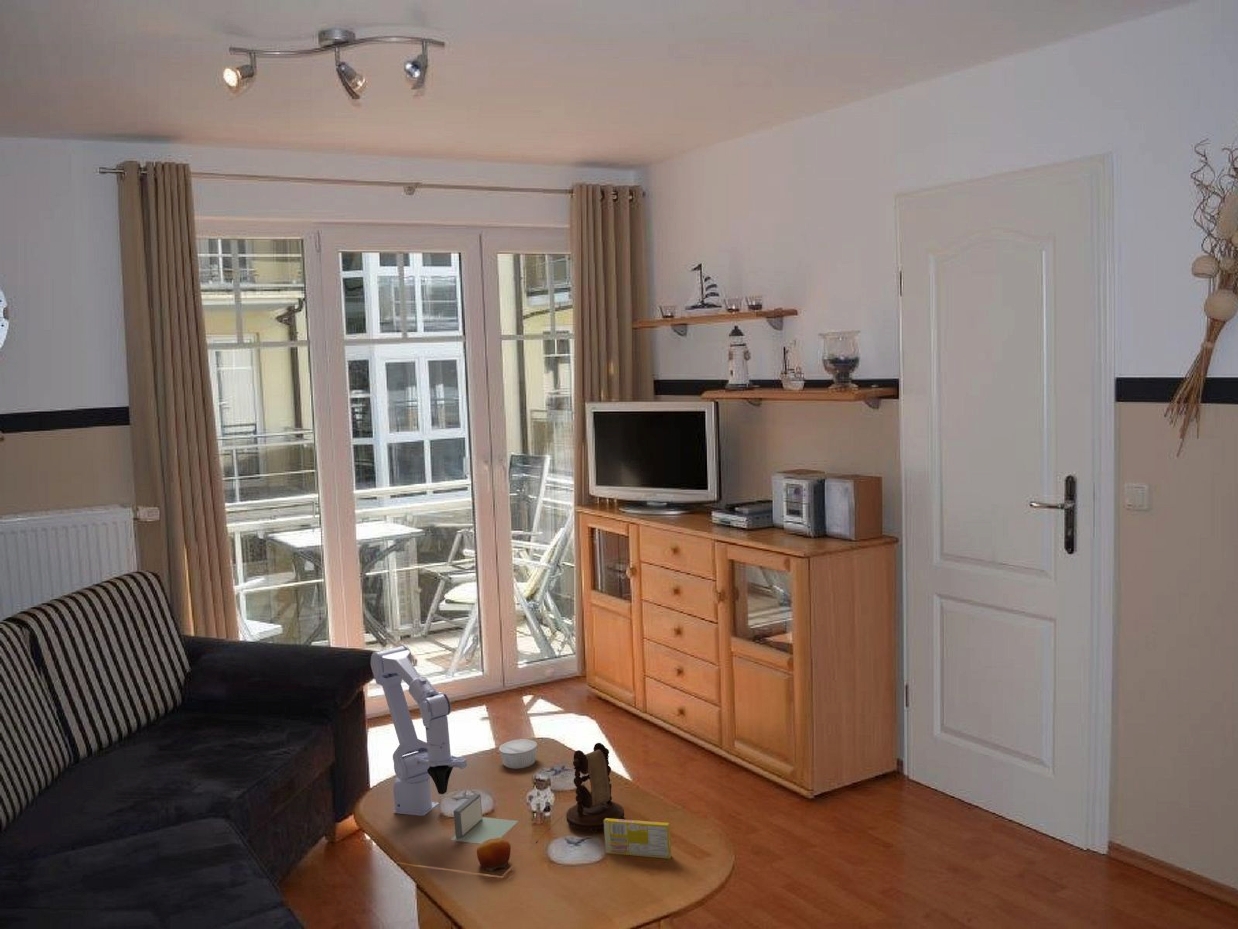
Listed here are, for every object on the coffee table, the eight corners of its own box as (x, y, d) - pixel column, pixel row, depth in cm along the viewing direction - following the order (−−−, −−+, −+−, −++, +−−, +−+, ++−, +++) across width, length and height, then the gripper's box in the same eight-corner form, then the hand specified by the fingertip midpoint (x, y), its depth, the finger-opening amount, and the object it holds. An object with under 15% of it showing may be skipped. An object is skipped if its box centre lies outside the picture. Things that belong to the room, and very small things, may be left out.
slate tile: (455, 837, 285) (453, 811, 284) (477, 819, 295) (474, 793, 294) (461, 838, 284) (459, 811, 284) (483, 819, 295) (480, 794, 294)
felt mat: (450, 841, 284) (450, 840, 284) (477, 818, 297) (477, 816, 297) (492, 846, 280) (492, 845, 279) (518, 822, 292) (518, 821, 292)
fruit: (488, 875, 262) (479, 840, 265) (479, 880, 268) (470, 846, 271) (520, 865, 266) (511, 831, 268) (510, 870, 272) (502, 837, 275)
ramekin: (495, 770, 329) (494, 753, 328) (505, 756, 340) (504, 739, 339) (533, 770, 327) (532, 753, 326) (542, 756, 338) (541, 739, 337)
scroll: (592, 840, 279) (586, 762, 277) (555, 823, 290) (549, 748, 288) (636, 820, 289) (631, 745, 287) (599, 805, 300) (593, 732, 298)
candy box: (672, 855, 269) (670, 822, 268) (669, 860, 267) (667, 826, 266) (608, 849, 274) (605, 817, 273) (605, 853, 272) (602, 820, 271)
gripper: (405, 745, 289) (410, 796, 290) (455, 749, 283) (459, 801, 285) (420, 735, 295) (424, 785, 297) (468, 739, 290) (473, 790, 291)
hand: (442, 792), depth 291 cm, fingers closed
